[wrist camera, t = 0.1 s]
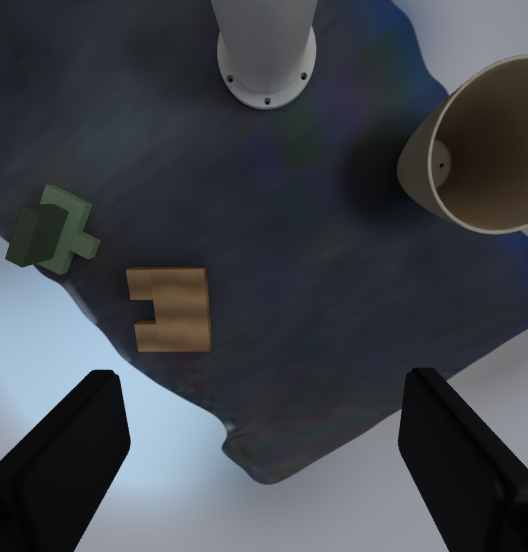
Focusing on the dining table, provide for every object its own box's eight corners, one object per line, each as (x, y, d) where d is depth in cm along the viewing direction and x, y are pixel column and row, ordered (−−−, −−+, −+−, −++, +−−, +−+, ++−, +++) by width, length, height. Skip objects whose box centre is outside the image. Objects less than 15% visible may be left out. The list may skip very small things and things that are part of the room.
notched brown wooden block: (131, 267, 47) (125, 269, 45) (206, 266, 46) (203, 268, 45) (142, 346, 50) (138, 351, 49) (212, 345, 50) (210, 351, 48)
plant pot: (453, 229, 44) (551, 249, 29) (357, 207, 43) (404, 215, 28) (496, 121, 40) (636, 76, 25) (390, 96, 39) (467, 33, 24)
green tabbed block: (54, 184, 43) (11, 182, 36) (111, 214, 44) (80, 218, 37) (31, 254, 46) (-13, 265, 39) (85, 281, 47) (51, 296, 40)
